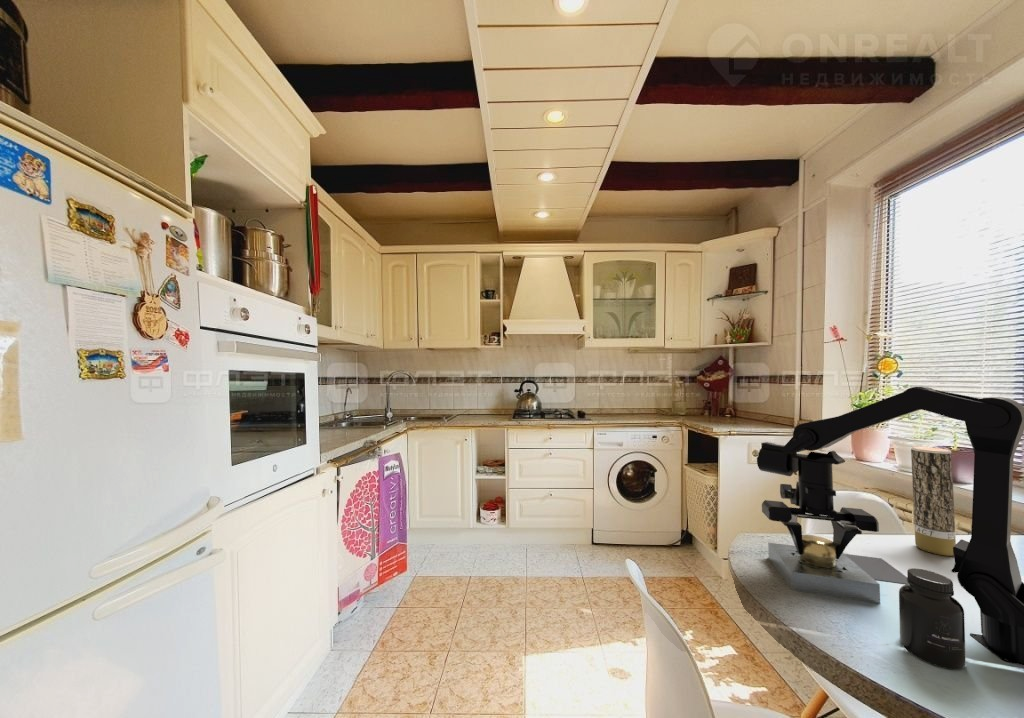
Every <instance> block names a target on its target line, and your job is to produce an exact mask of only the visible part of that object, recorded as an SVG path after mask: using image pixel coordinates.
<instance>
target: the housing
mask: <svg viewBox="0 0 1024 718" xmlns="http://www.w3.org/2000/svg"><path fill="white" fill-rule="evenodd" d="M767 547H768V559H769V561H771V564H773V566H774V567H775V569H776V570H777V571H778V573H779V574H780V576H781V577H782V578H783V580H784V581H785V582H786V583H787V585H788V587H789V588H790V589H791V590H792V591H794V592H795V591H796V592H802V593H803V592H804V593H809V594H815V595H822V596H827V597H835V598H840V599H841V598H842V599H847V600H855V601H861V602H867V603H868V602H869V603H874V604H878V605H881V589H880V588H881V587H880V583H879V582H877V580H874V579H873V578H872V577H871V576H869V575H868V574H867V573H866V572H865V571H863V570H862V569H861V568H860V567H859V566H858V565H856V564H855V563H854V562H853V561H852V560H851V559H849V558H848V557H847V556H846V555H845V554H846V553H844V552H843V553H842V554H841V556H840V557H839V559H836V566H835V567H832V568H825V567H819V566H815V565H812V564H809V563H807V562H805V561H804V560H803V559H802V558H801V557H800V554H799V553H798V552H797V549H796V547H795V545H791V544H784V543H783V544H782V543H776V542H768V546H767Z"/></svg>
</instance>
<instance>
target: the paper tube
mask: <svg viewBox="0 0 1024 718" xmlns="http://www.w3.org/2000/svg"><path fill="white" fill-rule="evenodd" d="M910 455H911V456H910V458H911V476H912V477H911V479H912V496H913V497H912V498H913V501H912V502H913V522H914V524H913V525H914V543H915V545H916V547H917V548H919V549H921V550H922V551H925V552H928V553H930V554H934V555H939V556H945V557H951V556H954V554H953V547H954V546H955V545H956V544H957V543H956V542H957V541H956V538H957V537H956V522H955V520H956V517H955V499H954V497H955V495H954V479H953V478H954V477H953V475H954V473H953V459H952V458H953V456H952V450H950V449H945V448H941V447H940V448H939V447H932V446H931V447H929V446H911V449H910Z"/></svg>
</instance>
